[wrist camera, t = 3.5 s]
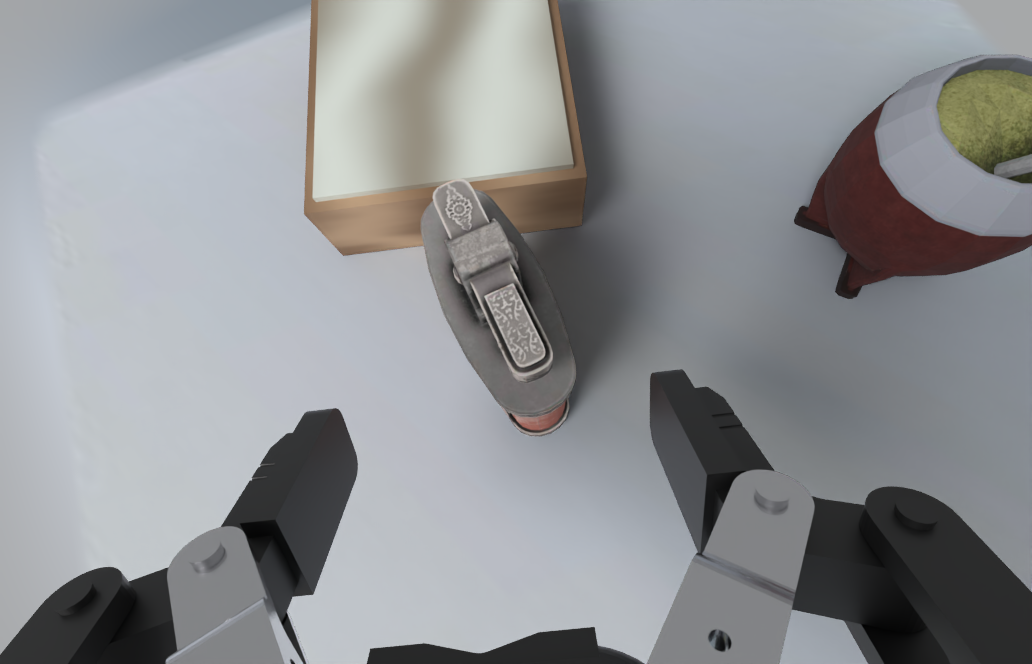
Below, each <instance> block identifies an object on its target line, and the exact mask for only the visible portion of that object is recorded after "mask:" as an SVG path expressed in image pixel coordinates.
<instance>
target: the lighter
mask: <svg viewBox="0 0 1032 664" xmlns="http://www.w3.org/2000/svg"><path fill="white" fill-rule="evenodd" d="M421 234H422V239H423V244H424V249H425V254H426V259H427V264H428V269H429V273H430V276H431V279H432V281H433V284H434V287H435V290H436V293H437V296H438V299H439V302H440V305H441V308H442V311H443V314H444V316H445V318H446V320H447V322H448V324H449V325H450V327H451V329H452V331H453V333H454V335H455V337H456V339H457V341H458V343H459V345H460V346H461V348H462V350H463V352H464V354H465V356H466V358H467V360H468V361H469V362H470V364H471V365H472V367H473V368H474V370H475V371H476V372H477V374H478V375H479V377H480V378H481V380H482V381H483V383H484V384H485V385H486V387H487V388H488V390H489V391H490V393H491V394H492V395H493V397H494V398H495V400H496V401H497V403H498V404H499V405H500V406H501V407H502V409H503V410H504V411H505V413H506V414H507V416H508V417H509V419H510V420H511V422H512V423H513V424H514V426H515V427H516V428H517V429H518V430H519V431H520V432H521V433H524V434H526V435H529V436H544V435H547V434H551V433H552V432H554V431H555V430H557V429H558V428H560V426H561V425H562V424H563V422H564V421H565V420H566V417H567V414H568V411H569V398H568V397H569V396H570V394H571V392H572V389H573V386H574V383H575V380H576V363H575V360H574V356H573V353H572V349H571V346H570V342H569V338H568V335H567V331H566V328H565V324H564V321H563V317H562V314H561V312H560V310H559V307H558V305H557V303H556V300H555V298H554V296H553V293H552V291H551V288H550V286H549V284H548V281H547V279H546V277H545V274H544V272H543V270H542V268H541V267H540V265H539V263H538V262H537V260H536V259H535V257H534V255H533V254H532V252H531V250H530V249H529V247H528V246H527V244H526V242H525V241H524V239H523V237H522V236H521V234H520V233H519V231H518V230H517V229H516V227H515V226H514V225H513V224H512V222H511V221H510V220H509V219H508V217H507V216H506V215H505V214H504V213H503V211H502V210H501V209H500V208H499V206H498V205H497V204H496V203H495V201H494V200H493V199H492V198H491V197H490V196H488V195H487V194H486V193H485V192H483V191H479V190H476V189H473V188H472V186H471V185H470V184H469V182H467V181H466V180H464V179H456V180H452V181H449V182H447V183H445V184H443V185H441V186H439V187H438V188H437V189H436V190H435V191H434V192H433V201H432V202H431V203H430V205H429V206H428V207H427V208H426V209H425V211H424V214H423V216H422V218H421Z"/></svg>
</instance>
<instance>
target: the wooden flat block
mask: <svg viewBox="0 0 1032 664" xmlns="http://www.w3.org/2000/svg"><path fill="white" fill-rule="evenodd" d="M456 179H464V180H466V181H467V182H469V184H470V185H471V186H472V188H473V189H476V190H479V191H483V192H485V193H486V194H487V195H488V196H490V197H491V198H492V199H493V200H494V201H495V203H496V204H497V205H498V206H499V208H500V209H501V210H502V211H503V213H504V214H505V215H506V216H507V217H508V219H509V220H510V221H511V222H512V224H513V225H514V226H515V227H516V229H517V230H518V231H519V233H527V232H535V231H543V230H551V229H558V228H566V227H574V226H582V217H583V208H584V199H585V190H586V181H587V174H586V168H585V162H584V156H583V150H582V144H581V138H580V132H579V126H578V120H577V114H576V108H575V102H574V96H573V90H572V85H571V79H570V73H569V67H568V61H567V55H566V49H565V43H564V37H563V31H562V25H561V19H560V13H559V7H558V1H557V0H312V3H311V31H310V59H309V88H308V116H307V144H306V172H305V201H304V214H305V215H306V217H307V218H308V219H309V220H310V221H311V222H312V223H313V224H314V225H315V226H316V227H317V228H318V229H319V230H320V231H321V232H322V234H323V235H324V236H325V237H326V238H327V239H328V240H329V241H330V242H331V243H332V244H333V245H334V246H335V247H336V248H337V250H338V251H339V252H340V253H341V254H342V255H343V256H344V255H352V254H360V253H368V252H376V251H384V250H392V249H400V248H408V247H415V246H423V245H424V244H423V239H422V234H421V218H422V216H423V214H424V211H425V209H426V208H427V207H428V206H429V205H430V203H431V202H432V201H433V192H434V191H435V190H436V189H437V188H438V187H439V186H441V185H443V184H445V183H447V182H449V181H452V180H456Z"/></svg>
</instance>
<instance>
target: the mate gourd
mask: <svg viewBox="0 0 1032 664" xmlns="http://www.w3.org/2000/svg"><path fill="white" fill-rule="evenodd" d="M794 222H795V224H797V225H799V226H801V227H804V228H806V229H809V230H812V231H814V232H817V233H820V234H823V235H826V236H828V237H831V238H834V239H836V240H837V241H838V243H839V244H840V246H841V247H842V248H843V249H844V250H845V251H846V252H847V257H846V260H845V263H844V266H843V268H842V271H841V274H840V277H839V280H838V283H837V287H836V291H835V292H836V293H837V294H838V295H839V296H842V297H845V298H847V299H852V298H854V297H857V295H858V293H859V292H860V290H861V287H862V286H863V285H867V284H871V283H874V282H878V281H881V280H885V279H887V278H890V277H893V276H931V275H947V274H952V273H957V272H962V271H966V270H969V269H972V268H975V267H978V266H981V265H984V264H987V263H990V262H993V261H996V260H999V259H1002V258H1004V257H1007V256H1010V255H1012V254H1015V253H1017V252H1020V251H1023V250H1024V249H1026V248H1028V247H1030V246H1031V245H1032V58H1027V57H1024V56H1020V55H980V56H976V57H972V58H968V59H964V60H961V61H958V62H955V63H952V64H949V65H946V66H943V67H940V68H937V69H934V70H932V71H929V72H927V73H924V74H922V75H919V76H917V77H914V78H913V79H911V80H910V81H909V82H907V83H906V84H905V85H904V86H903V87H902V88H901V89H899V90H898V91H896V92H895V93H893V94H892V95H890V96H889V97H888V98H887V99H886V100H885V101H884V102H883V103H881V104H880V105H879V106H878V107H877V108H876V109H875V110H874V111H873V112H872V113H870V114H869V115H868V116H867V117H866V118H865V119H864V120H863V121H862V122H861V123H860V124H859V125H858V126H857V127H856V128H855V129H853V130H852V132H851V133H850V135H849V136H848V137H847V139H846V140H845V142H844V143H843V144H842V146H841V147H840V149H839V150H838V152H837V154H836V155H835V157H834V158H833V160H832V162H831V163H830V165H829V166H828V168H827V169H826V170H825V172H824V173H823V175H822V176H821V177H820V179H819V181H818V183H817V186H816V188H815V191H814V193H813V196H812V199H811V203H810V205H809V208H808V207H805V206H802V207H800V208H799V211H798V213H797V214H796V217H795V219H794Z"/></svg>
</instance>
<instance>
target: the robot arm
mask: <svg viewBox="0 0 1032 664" xmlns="http://www.w3.org/2000/svg"><path fill="white" fill-rule="evenodd" d="M650 429H651V435H652V440H653V443H654V446H655V449H656V451H657V454H658V456H659V459H660V461H661V463H662V466H663V468H664V471H665V473H666V476H667V478H668V480H669V483H670V485H671V488H672V490H673V493H674V495H675V497H676V500H677V502H678V505H679V507H680V510H681V512H682V514H683V517H684V519H685V522H686V524H687V527H688V529H689V531H690V534H691V536H692V539H693V541H694V544H695V546H696V548H697V551H698V553H696V555H695V556H694V558H693V559H692V561H691V564H690V566H689V568H688V570H687V573H686V575H685V577H684V579H683V582H682V584H681V586H680V589H679V591H678V593H677V596H676V598H675V600H674V602H673V605H672V607H671V609H670V612H669V614H668V616H667V619H666V621H665V623H664V625H663V628H662V630H661V632H660V635H659V637H658V639H657V641H656V644H655V646H654V648H653V651H652V653H651V655H650V658H649V660H648V662H647V664H779V662H780V658H781V653H782V649H783V645H784V640H785V636H786V632H787V627H788V623H789V619H790V614H791V610H792V609H793V610H797V611H802V612H807V613H811V614H816V615H821V616H826V617H830V618H835V619H840V620H844V621H845V623H846V625H847V627H848V628H849V630H850V632H851V634H852V635H853V637H854V639H855V641H856V643H857V644H858V646H859V648H860V650H861V651H862V653H863V655H864V657H865V659H866V660H867V662H868V664H1032V592H1031V591H1030V590H1029V589H1028V588H1027V587H1026V586H1025V585H1024V584H1023V583H1022V582H1021V581H1020V580H1019V578H1018V577H1017V576H1016V575H1015V574H1014V573H1013V572H1012V571H1011V570H1010V569H1009V568H1008V567H1007V566H1006V565H1005V564H1004V563H1003V562H1002V561H1001V560H1000V559H999V558H998V556H997V555H996V554H995V553H994V552H993V551H992V550H991V549H990V548H989V547H988V546H987V545H986V544H985V543H984V542H983V541H982V540H981V539H980V538H979V537H978V536H977V535H976V533H975V532H974V531H973V530H972V529H971V528H970V527H969V526H968V525H967V524H966V523H965V522H964V521H963V520H962V519H961V518H960V517H959V516H958V515H957V514H956V513H955V512H954V511H953V510H952V509H951V508H949V507H948V506H947V505H945V504H944V503H942V502H941V501H939V500H937V499H935V498H933V497H931V496H929V495H927V494H924V493H922V492H919V491H916V490H913V489H908V488H903V487H882V488H879V489H876V490H874V491H872V492H871V493H870V494H869V495H868V497H867V498H866V501H865V505H859V504H852V503H845V502H838V501H831V500H825V499H820V498H816V497H813V496H811V495H810V493H809V492H808V490H807V489H806V488H805V487H804V486H803V485H801V484H800V483H799V482H798V481H796V480H794V479H793V478H791V477H789V476H787V475H784V474H782V473H779V472H775V471H774V469H773V468H772V467H771V465H770V464H769V462H768V461H767V459H766V458H765V456H764V455H763V454H762V452H761V451H760V449H759V448H758V446H757V445H756V443H755V442H754V441H753V439H752V438H751V436H750V435H749V433H748V432H747V430H746V429H745V428H744V427H743V426H742V423H741V422H740V420H739V419H738V417H737V416H736V415H734V412H733V410H732V409H731V407H730V406H729V404H728V403H727V401H726V400H725V399H724V398H723V397H722V396H720V395H719V394H717V393H716V392H714V391H713V390H711V389H710V388H708V387H700V388H694V386H693V385H692V383H691V381H690V380H689V378H688V376H687V375H686V373H685V372H684V371H683V370H682V369H681V370H672V371H664V372H655V373H652V374H651V378H650ZM260 465H261V466H260V467H258V469H257V470H256V472H255V473H254V475H253V477H252V481H249V483H248V485H247V486H246V488H245V489H244V491H243V492H242V494H241V496H240V497H239V499H238V500H237V502H236V504H235V505H234V507H233V508H232V510H231V512H230V513H229V515H228V516H227V518H226V520H225V521H224V523H223V524H222V526H221V527H220V528H216V529H213V530H210V531H208V532H206V533H204V534H202V535H200V536H198V537H197V538H195V539H194V540H192V541H191V542H189V543H188V544H187V545H186V546H185V547H184V548H183V549H182V550H181V551H180V552H179V553H178V554H177V555H176V556H175V557H174V559H173V561H172V562H171V564H170V566H169V567H168V568H165V569H163V570H160V571H157V572H154V573H151V574H149V575H146V576H143V577H140V578H138V579H135V580H132V581H129V582H128V580H127V579H126V578H125V577H124V575H123V574H122V573H121V571H119V570H118V569H116V568H114V567H103V568H98V569H95V570H92V571H89V572H86V573H84V574H82V575H80V576H78V577H76V578H74V579H73V580H71V581H69V582H68V583H66V584H65V585H63V586H62V587H60V588H59V589H58V590H57V591H55V592H54V593H53V594H52V595H51V596H50V597H49V598H48V599H46V600H45V601H44V603H43V604H42V605H41V606H40V607H39V608H38V610H37V611H36V612H35V613H34V614H33V616H32V617H31V618H30V619H29V621H28V622H27V623H26V624H25V625H24V627H23V628H22V629H21V630H20V631H19V633H18V634H17V635H16V636H15V637H14V639H13V640H12V641H11V642H10V644H9V645H8V646H7V647H6V649H5V650H4V651H3V652H2V653H1V655H0V664H309V662H308V659H307V657H306V654H305V652H304V649H303V647H302V644H301V641H300V639H299V636H298V634H297V631H296V628H295V626H294V623H293V621H292V618H291V616H290V614H289V612H288V611H287V609H288V607H289V604H290V602H291V599H292V597H293V596H303V595H313V594H314V591H315V588H316V586H317V583H318V580H319V578H320V575H321V572H322V569H323V567H324V564H325V561H326V559H327V556H328V553H329V550H330V548H331V545H332V542H333V539H334V537H335V534H336V531H337V529H338V526H339V523H340V520H341V518H342V515H343V512H344V510H345V507H346V504H347V501H348V499H349V496H350V493H351V491H352V488H353V485H354V482H355V480H356V476H357V469H358V463H357V456H356V452H355V449H354V446H353V444H352V441H351V438H350V435H349V433H348V430H347V427H346V424H345V422H344V419H343V416H342V414H341V412H340V411H339V410H338V409H336V408H335V409H326V410H318V411H309V412H306V413H305V414H304V415H303V417H302V418H301V420H300V422H299V423H298V425H297V427H296V429H295V430H294V432H293V433H287V434H286V435H285V436H284V437H283V438H281V439H280V440H279V441H278V442H277V443H276V444H275V445H273V446H272V447H271V448H270V450H269V451H268V453H267V454H266V456H265V458H264V459H263V461H262V462H261V464H260ZM367 664H644V663H642V662H641V661H639V660H638V659H636V658H634V657H631V656H629V655H627V654H625V653H623V652H620V651H617V650H614V649H610V648H606V647H601V646H598V645H597V639H596V633H595V627H590V628H580V629H570V630H559V631H549V632H539V633H536V634H533V635H531V636H528V637H525V638H523V639H520V640H518V641H515V642H512V643H510V644H507V645H504V646H502V647H499V648H496V649H494V650H491V651H488V652H485V653H471V652H466V651H461V650H456V649H451V648H445V647H440V646H435V645H430V644H415V645H404V646H394V647H384V648H373V649H370V653H369V657H368V661H367Z"/></svg>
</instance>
